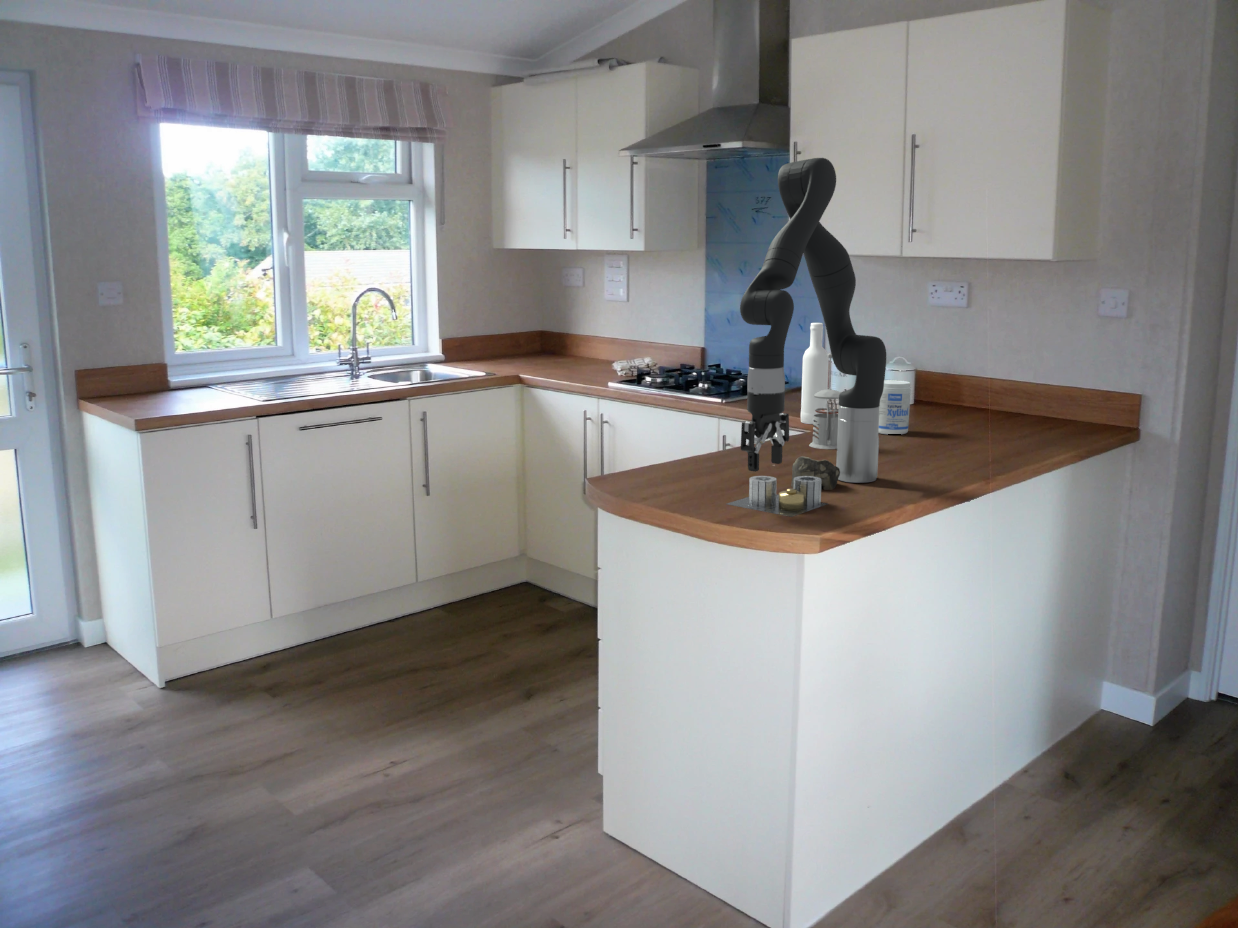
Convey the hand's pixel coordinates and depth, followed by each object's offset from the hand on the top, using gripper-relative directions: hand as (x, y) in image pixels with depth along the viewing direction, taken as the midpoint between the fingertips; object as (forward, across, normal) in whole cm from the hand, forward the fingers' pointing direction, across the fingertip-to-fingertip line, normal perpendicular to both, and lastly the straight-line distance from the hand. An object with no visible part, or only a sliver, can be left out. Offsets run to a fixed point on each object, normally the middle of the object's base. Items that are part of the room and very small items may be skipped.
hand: (765, 467), depth 222 cm
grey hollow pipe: (+8, -6, +7) cm, 12 cm away
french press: (+10, -68, -25) cm, 73 cm away
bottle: (+10, -99, -48) cm, 110 cm away
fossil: (+9, -21, -1) cm, 23 cm away
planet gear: (+8, 0, 0) cm, 8 cm away
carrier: (+9, -1, +3) cm, 9 cm away
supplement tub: (+10, -98, -22) cm, 101 cm away
